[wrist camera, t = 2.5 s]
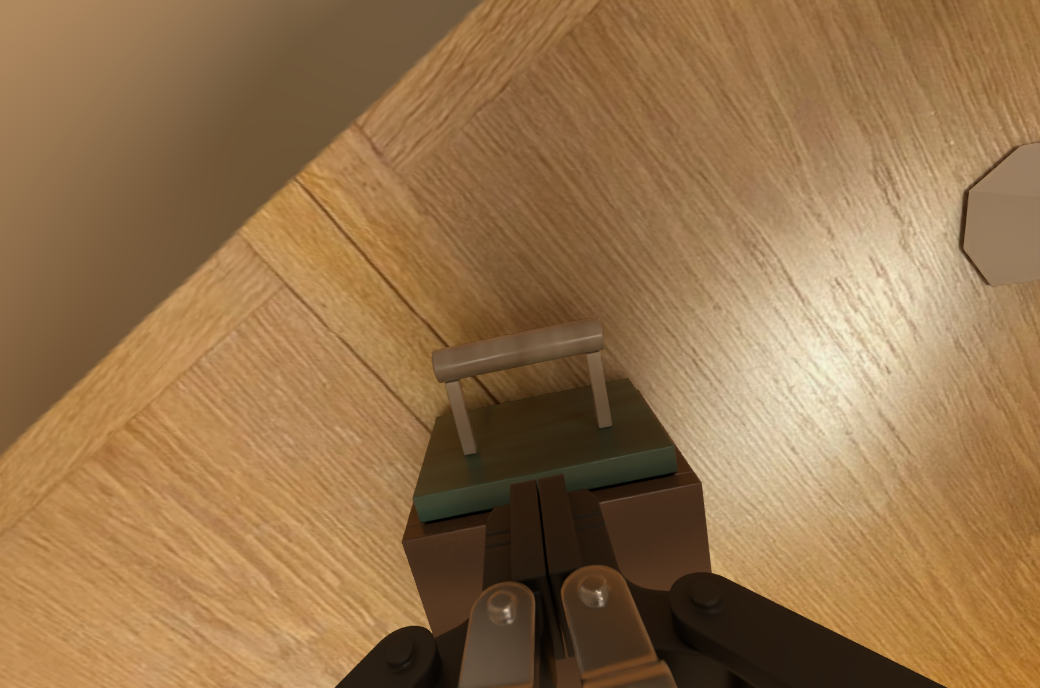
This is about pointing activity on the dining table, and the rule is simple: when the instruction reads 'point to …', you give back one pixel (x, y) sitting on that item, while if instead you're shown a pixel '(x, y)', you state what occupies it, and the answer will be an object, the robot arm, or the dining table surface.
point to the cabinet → (630, 524)
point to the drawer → (536, 427)
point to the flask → (1007, 220)
